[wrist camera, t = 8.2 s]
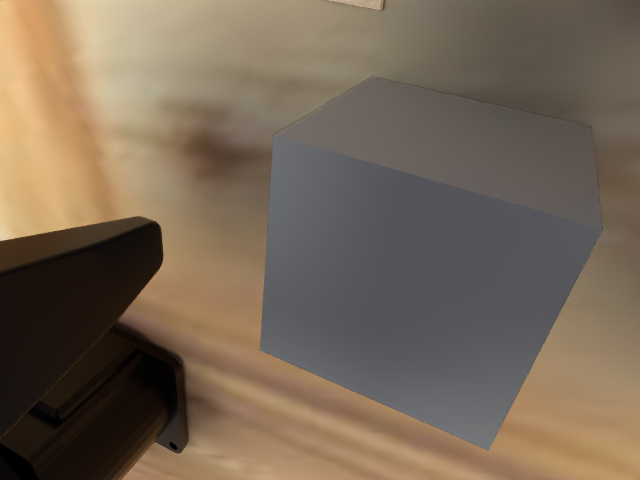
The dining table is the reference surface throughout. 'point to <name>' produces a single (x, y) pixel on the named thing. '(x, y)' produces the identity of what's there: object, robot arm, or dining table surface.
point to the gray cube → (425, 248)
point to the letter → (363, 3)
